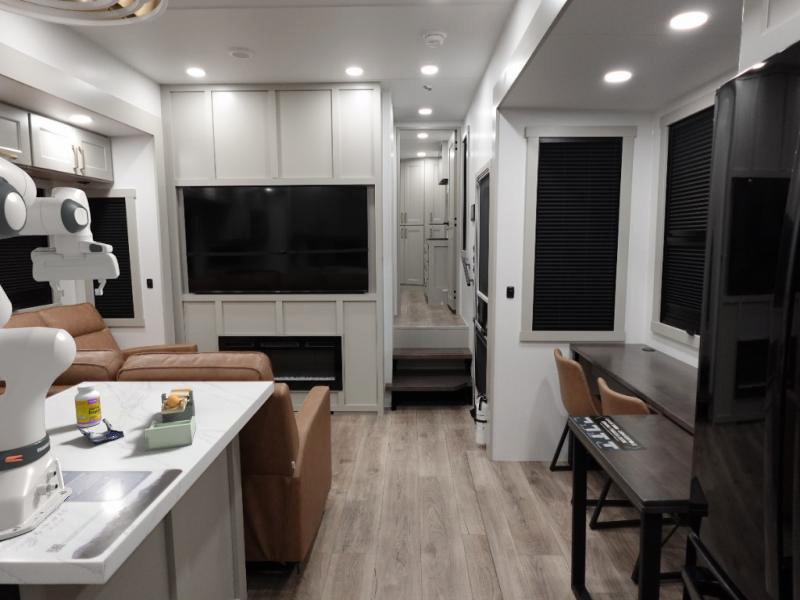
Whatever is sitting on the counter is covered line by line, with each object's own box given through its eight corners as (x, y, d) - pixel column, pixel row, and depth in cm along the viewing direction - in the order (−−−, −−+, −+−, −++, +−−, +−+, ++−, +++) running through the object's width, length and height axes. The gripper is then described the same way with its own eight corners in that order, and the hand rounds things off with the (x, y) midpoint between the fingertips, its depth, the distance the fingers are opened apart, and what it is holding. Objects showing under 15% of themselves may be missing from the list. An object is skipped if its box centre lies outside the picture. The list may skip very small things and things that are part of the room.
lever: (185, 417, 140) (184, 403, 139) (161, 420, 138) (159, 405, 137) (192, 394, 162) (192, 381, 162) (172, 396, 160) (171, 383, 160)
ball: (179, 408, 140) (178, 396, 139) (166, 409, 139) (165, 398, 138) (180, 404, 143) (179, 393, 143) (168, 405, 142) (167, 394, 141)
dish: (191, 444, 131) (190, 424, 130) (146, 451, 127) (144, 430, 127) (195, 428, 143) (194, 409, 142) (154, 433, 139) (152, 414, 139)
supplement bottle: (89, 428, 144) (85, 388, 143) (72, 427, 146) (67, 387, 144) (107, 420, 151) (103, 382, 150) (90, 419, 152) (86, 381, 151)
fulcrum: (193, 421, 149) (191, 394, 148) (162, 425, 146) (160, 397, 145) (195, 414, 155) (193, 388, 154) (165, 418, 152) (163, 392, 151)
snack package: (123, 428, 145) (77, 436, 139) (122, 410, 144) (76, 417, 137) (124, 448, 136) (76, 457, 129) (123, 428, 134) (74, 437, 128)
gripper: (25, 247, 123) (31, 299, 125) (113, 246, 130) (117, 295, 132) (34, 247, 129) (40, 296, 131) (118, 246, 136) (122, 292, 138)
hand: (79, 295), depth 131 cm, fingers open, 8 cm apart
